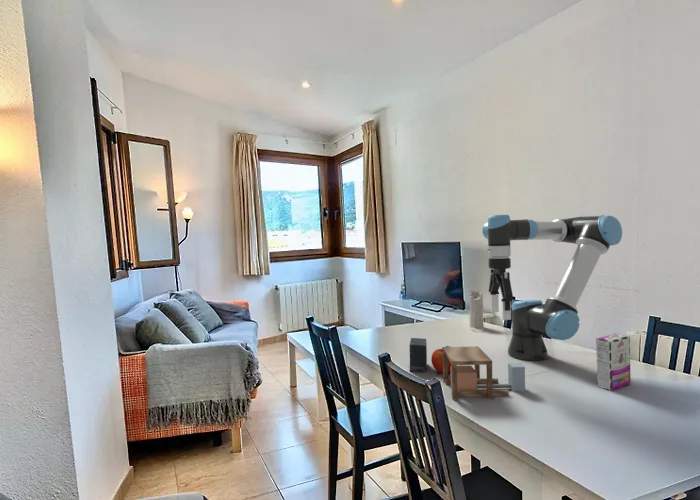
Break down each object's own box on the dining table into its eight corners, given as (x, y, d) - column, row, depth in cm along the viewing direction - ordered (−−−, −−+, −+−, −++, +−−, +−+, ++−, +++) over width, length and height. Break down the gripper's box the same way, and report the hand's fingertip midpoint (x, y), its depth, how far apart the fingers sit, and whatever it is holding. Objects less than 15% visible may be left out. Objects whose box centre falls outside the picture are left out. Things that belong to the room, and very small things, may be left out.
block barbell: (518, 384, 140) (518, 361, 139) (526, 392, 133) (526, 368, 132) (450, 385, 140) (450, 362, 140) (455, 394, 133) (454, 369, 133)
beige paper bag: (472, 332, 212) (471, 293, 211) (469, 325, 226) (468, 289, 225) (486, 332, 211) (486, 293, 210) (482, 326, 225) (481, 289, 224)
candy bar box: (615, 380, 141) (615, 332, 140) (631, 384, 137) (631, 336, 136) (595, 386, 136) (595, 337, 135) (611, 391, 132) (611, 341, 131)
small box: (426, 372, 154) (426, 345, 154) (409, 371, 156) (408, 344, 155) (427, 363, 165) (426, 337, 164) (411, 363, 166) (410, 337, 166)
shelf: (495, 380, 144) (494, 346, 144) (511, 398, 128) (510, 360, 128) (443, 381, 145) (442, 347, 144) (453, 399, 129) (452, 361, 128)
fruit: (440, 365, 162) (439, 340, 161) (462, 371, 155) (461, 344, 154) (426, 372, 155) (425, 345, 155) (448, 377, 148) (447, 350, 148)
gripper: (479, 255, 161) (480, 309, 162) (499, 260, 136) (500, 323, 137) (499, 255, 161) (500, 308, 162) (522, 259, 136) (523, 322, 137)
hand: (500, 315), depth 149 cm, fingers open, 13 cm apart
